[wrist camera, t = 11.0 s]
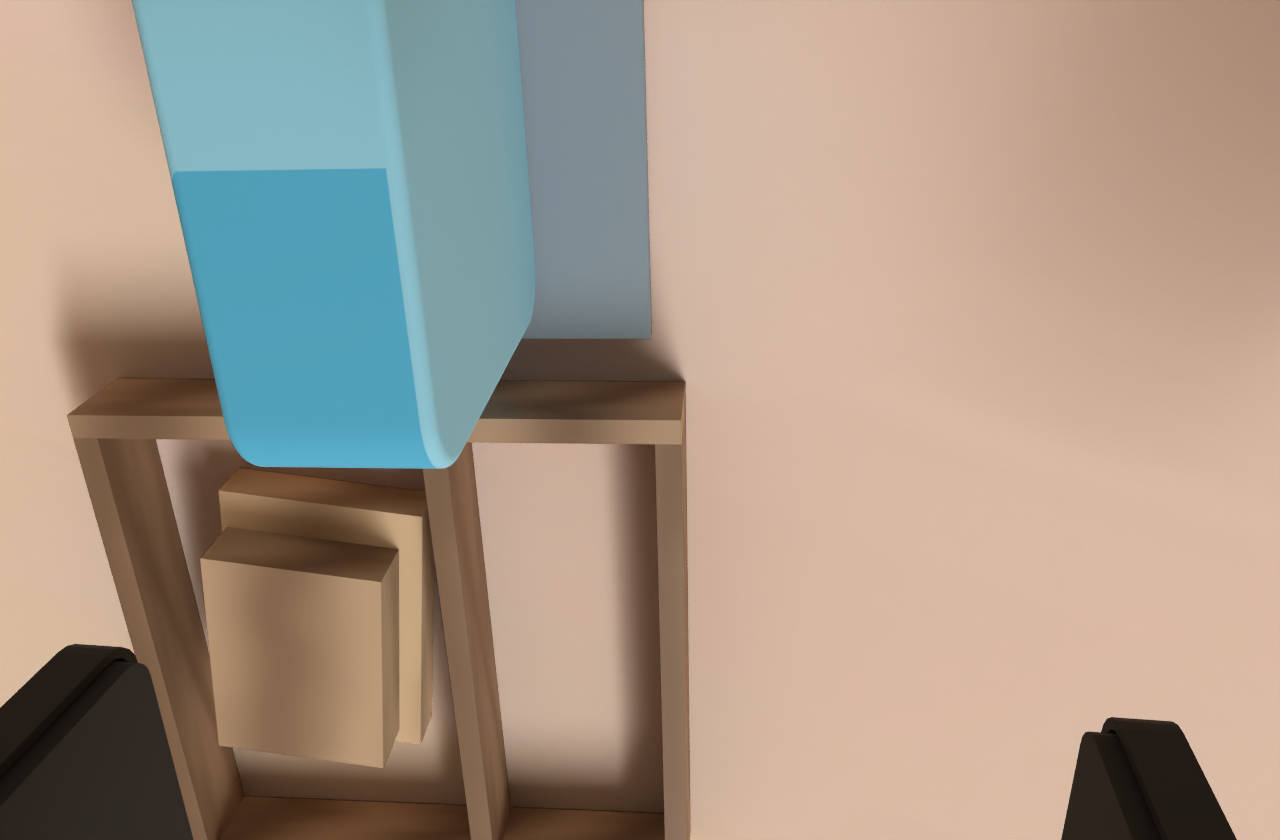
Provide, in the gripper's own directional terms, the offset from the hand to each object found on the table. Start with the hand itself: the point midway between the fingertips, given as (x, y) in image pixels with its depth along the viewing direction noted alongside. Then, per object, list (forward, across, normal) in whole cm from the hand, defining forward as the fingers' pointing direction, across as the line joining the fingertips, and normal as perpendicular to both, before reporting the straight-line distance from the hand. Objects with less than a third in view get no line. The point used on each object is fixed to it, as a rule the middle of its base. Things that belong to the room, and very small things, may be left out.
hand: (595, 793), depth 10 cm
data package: (+23, +8, -4) cm, 24 cm away
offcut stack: (+23, +14, +14) cm, 31 cm away
